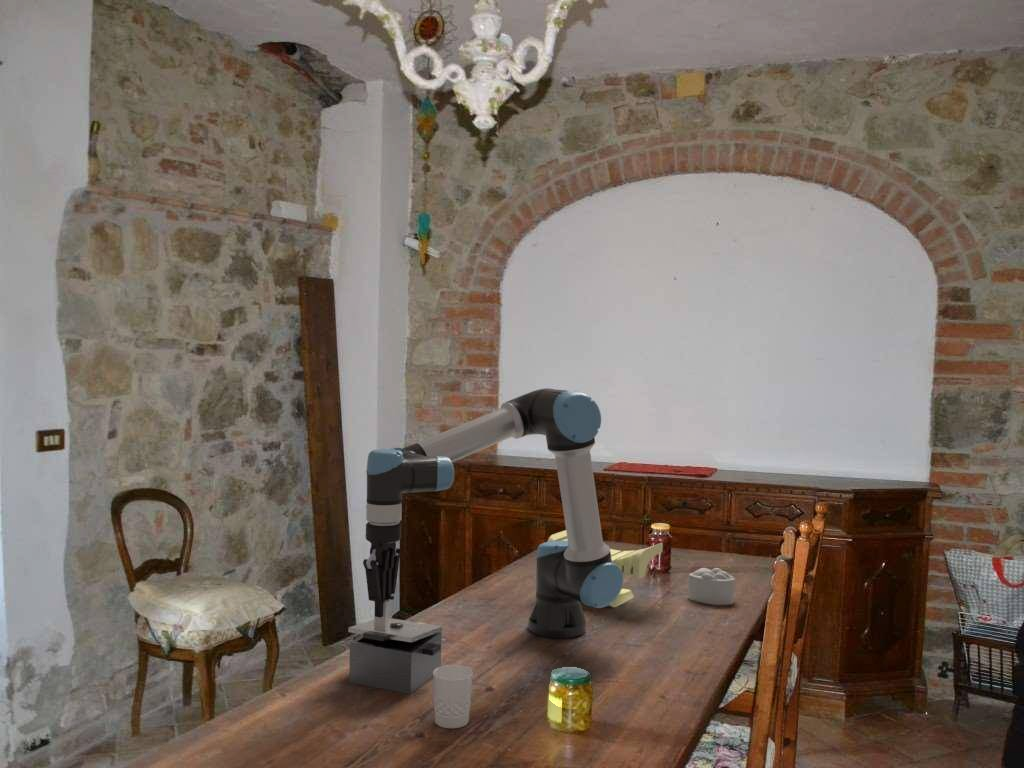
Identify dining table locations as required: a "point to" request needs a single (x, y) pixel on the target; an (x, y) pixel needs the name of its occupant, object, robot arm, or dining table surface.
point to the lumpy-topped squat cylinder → (711, 586)
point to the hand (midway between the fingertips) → (381, 630)
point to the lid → (396, 630)
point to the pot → (394, 662)
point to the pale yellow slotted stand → (624, 563)
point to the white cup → (452, 695)
